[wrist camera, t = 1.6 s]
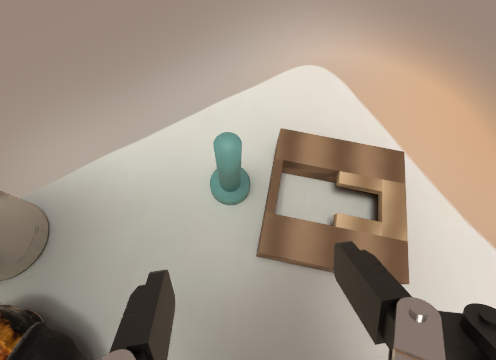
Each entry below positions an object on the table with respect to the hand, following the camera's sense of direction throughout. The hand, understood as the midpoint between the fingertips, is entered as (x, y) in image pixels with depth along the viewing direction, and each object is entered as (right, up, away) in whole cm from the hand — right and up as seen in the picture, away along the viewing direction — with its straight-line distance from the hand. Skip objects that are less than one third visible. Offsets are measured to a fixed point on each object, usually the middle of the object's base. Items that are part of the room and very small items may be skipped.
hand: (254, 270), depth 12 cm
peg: (-3, +3, +22) cm, 22 cm away
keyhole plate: (+10, +1, +21) cm, 24 cm away
